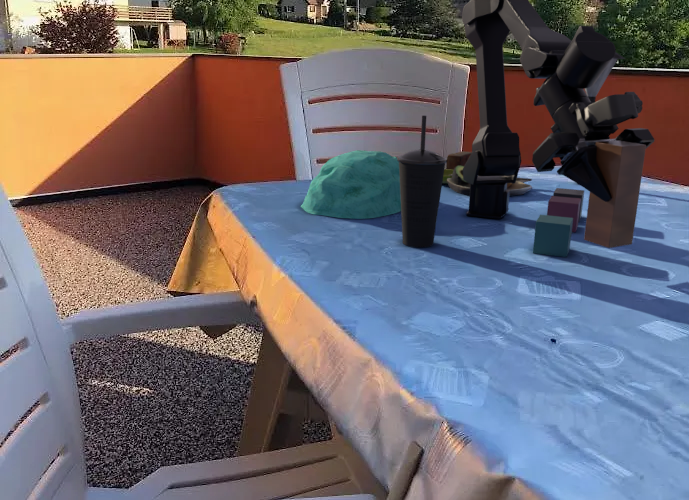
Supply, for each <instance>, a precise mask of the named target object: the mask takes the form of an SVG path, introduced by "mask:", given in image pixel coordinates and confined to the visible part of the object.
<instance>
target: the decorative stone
mask: <svg viewBox="0 0 689 500" xmlns="http://www.w3.org/2000/svg"><path fill="white" fill-rule="evenodd" d="M397 157H398V156H392V155H390V154H389V153H388V152H384V151H382V150H361V149H357V150H352V151H348V152H345V153H342V154H339V155H336V156H334V157H332V158H329V159H328V160H327V161H326V162H325V163H324V164H322V166H321V168H320V170H319V172H318V174H317V175H316V176H315V177H313V178H312V180H311V182H310V184H309V187H308V190H307V193H306V195H305V197H304V199H303V203H302V204H301V205H300V208H302V210H303V211H304V212H306V213H308V214H311V215H315V216H325V217H331V218H332V217H333V218H338V219H352V220H353V219H354V220H355V219H356V220H357V219H358V220H364V219H365V220H366V219H367V220H368V219H376V218H381V217H386V216H390V215H393V214H398V213H401V196H400V175H399V162H398V161H397Z"/></svg>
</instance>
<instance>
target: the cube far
mask: <svg viewBox="0 0 689 500" xmlns="http://www.w3.org/2000/svg"><path fill="white" fill-rule="evenodd" d="M552 196H558V197H569V198H580V199H581V203H580V212H579V221H578V223H580V222H581V219H582V214H583V205H584V198H585V190H583V189H573V188H561V187H556V188H555V189H554V191H553V195H552Z"/></svg>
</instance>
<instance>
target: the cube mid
mask: <svg viewBox="0 0 689 500" xmlns="http://www.w3.org/2000/svg"><path fill="white" fill-rule="evenodd" d="M580 203H581V199H580V198H569V197H558V196H553V195H551V196H550V198H549V199H548V201H547V211H546V212H547V213H546V215H549V216H559V217H568V218H573V224H572V233H576V232H577V229H578V226H579V222H578V221H579V212H580Z"/></svg>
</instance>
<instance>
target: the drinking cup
mask: <svg viewBox="0 0 689 500" xmlns="http://www.w3.org/2000/svg"><path fill="white" fill-rule="evenodd" d="M420 129H421V130H420V147H419V148H420V149H413V150H409V151H407V152H404V153H403V154H401V155H398V156H396V157H397V161H398V162H399V175H400V196H401V211H400V213H401V214H400V215H401V235H402V236H401V237H402V244H403V245H404V246H407V247H411V248H427V247H428V248H429V247H432V246H434V242H435V241H434V240H435V235H436V234H435V233H436V226H437V221H438V214H439V208H440V201H441V196H442V195H441V194H442V188H443V187H442V186H443V183H442V181H443V175H444V169H446V167H445V166H446V163H447V157H446V156H443V155H442V154H440V153H438V152H436V151H434V150H429V149H426V132H427V115H421V128H420Z"/></svg>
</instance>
